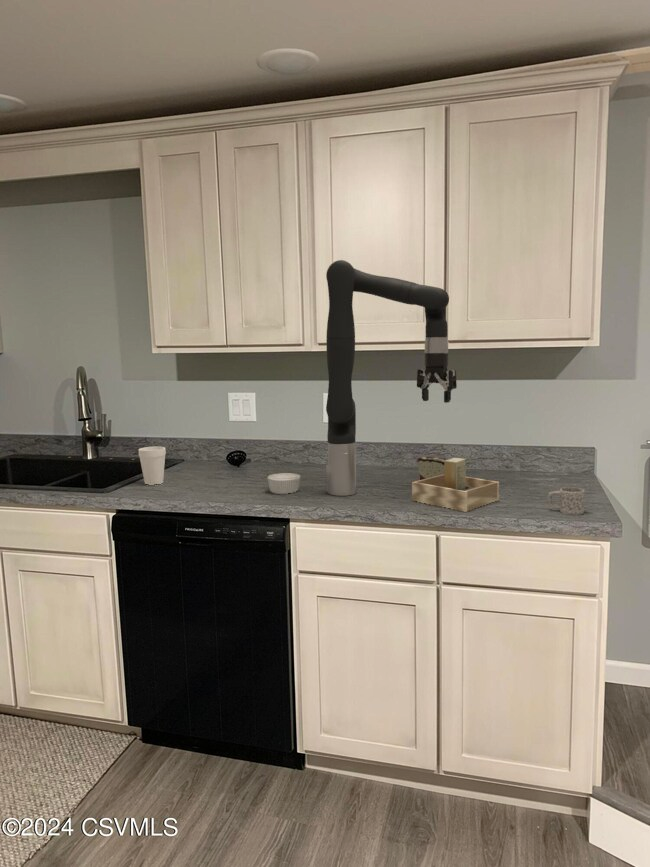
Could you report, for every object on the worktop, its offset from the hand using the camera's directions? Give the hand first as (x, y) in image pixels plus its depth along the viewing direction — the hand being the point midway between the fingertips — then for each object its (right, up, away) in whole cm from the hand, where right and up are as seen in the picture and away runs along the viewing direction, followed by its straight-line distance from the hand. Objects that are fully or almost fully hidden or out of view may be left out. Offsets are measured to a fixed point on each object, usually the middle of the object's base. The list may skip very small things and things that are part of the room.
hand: (436, 401), depth 219 cm
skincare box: (+4, -31, -8) cm, 32 cm away
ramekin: (-50, -30, +10) cm, 59 cm away
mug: (+34, -33, -23) cm, 53 cm away
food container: (+2, -29, +14) cm, 32 cm away
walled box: (+5, -32, -8) cm, 33 cm away
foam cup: (-99, -29, +26) cm, 106 cm away
